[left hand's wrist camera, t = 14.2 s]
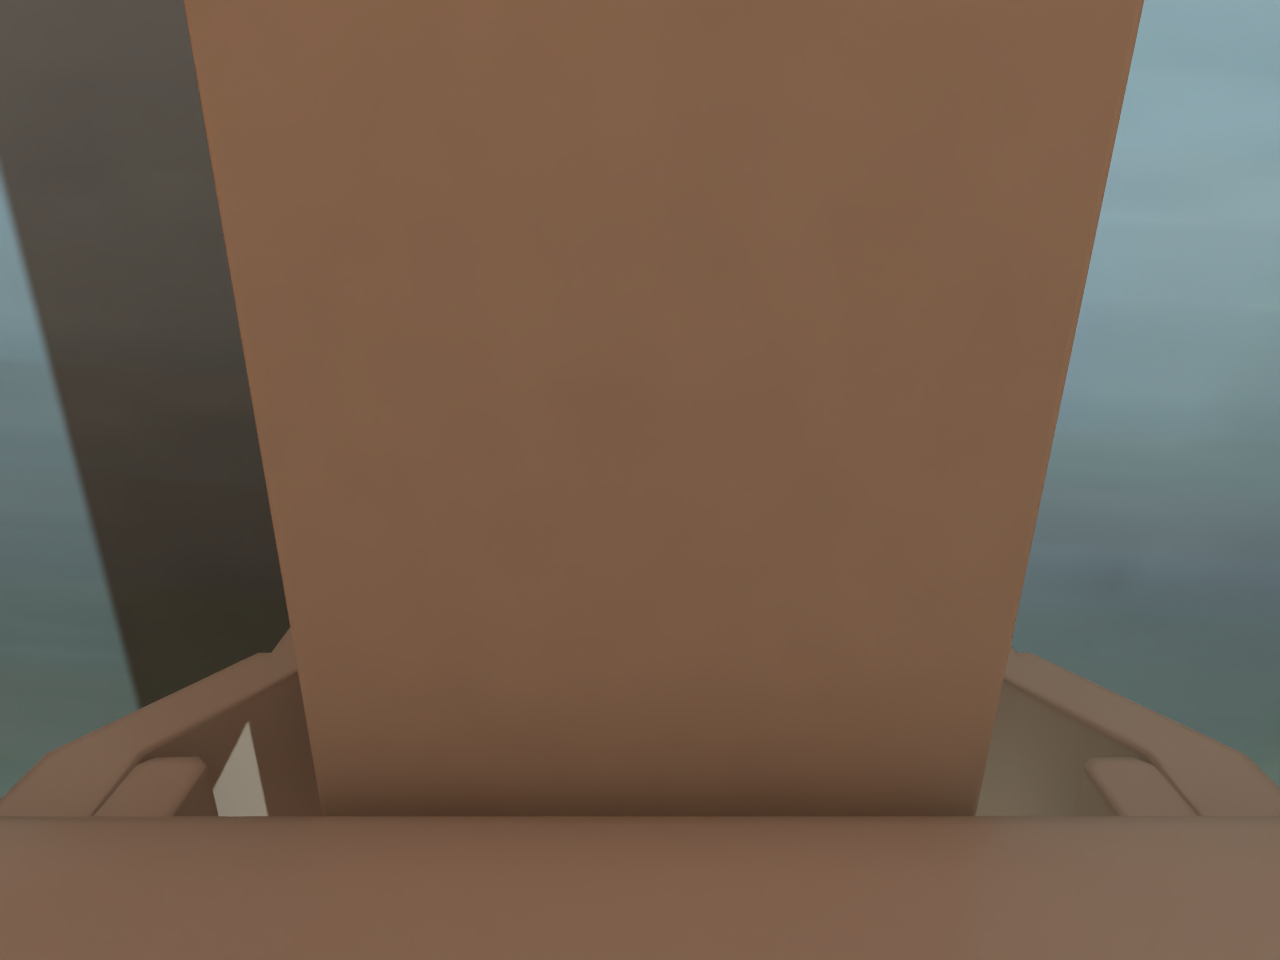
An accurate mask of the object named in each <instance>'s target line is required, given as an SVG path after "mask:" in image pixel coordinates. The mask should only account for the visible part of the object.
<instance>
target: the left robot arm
mask: <svg viewBox="0 0 1280 960" xmlns="http://www.w3.org/2000/svg"><path fill="white" fill-rule="evenodd" d="M0 960H1280V788H1279V787H1278V786H1277V785H1276V784H1275V783H1274V782H1273V781H1272V780H1271V779H1270V778H1269V777H1268V776H1267V775H1266V774H1265V773H1264V772H1263V771H1262V770H1261V769H1260V768H1259V767H1258V766H1257V765H1256V764H1255V763H1254V762H1253V761H1252V760H1251V759H1250V758H1249V757H1248V756H1247V755H1245V754H1243V753H1241V752H1239V751H1237V750H1235V749H1233V748H1231V747H1228V746H1226V745H1224V744H1222V743H1220V742H1218V741H1216V740H1214V739H1211V738H1209V737H1207V736H1205V735H1203V734H1201V733H1199V732H1197V731H1195V730H1192V729H1190V728H1188V727H1186V726H1184V725H1182V724H1180V723H1178V722H1176V721H1173V720H1171V719H1169V718H1167V717H1165V716H1163V715H1161V714H1159V713H1157V712H1154V711H1152V710H1150V709H1148V708H1146V707H1144V706H1142V705H1140V704H1137V703H1135V702H1133V701H1131V700H1129V699H1127V698H1125V697H1123V696H1121V695H1118V694H1116V693H1114V692H1112V691H1110V690H1108V689H1106V688H1104V687H1102V686H1099V685H1097V684H1095V683H1093V682H1091V681H1089V680H1087V679H1085V678H1082V677H1080V676H1078V675H1076V674H1074V673H1072V672H1070V671H1068V670H1066V669H1063V668H1061V667H1059V666H1057V665H1055V664H1053V663H1051V662H1049V661H1047V660H1044V659H1042V658H1040V657H1038V656H1036V655H1034V654H1032V653H1017V652H1016V651H1015V649H1014V648H1013V647H1012V645H1011V646H1010V650H1009V655H1008V660H1007V665H1006V670H1005V675H1004V679H1003V684H1002V689H1001V694H1000V699H999V704H998V708H997V713H996V718H995V723H994V728H993V733H992V737H991V742H990V747H989V752H988V757H987V762H986V766H985V771H984V776H983V781H982V786H981V791H980V795H979V800H978V805H977V810H976V815H975V816H322V810H321V804H320V798H319V792H318V786H317V780H316V775H315V769H314V763H313V757H312V751H311V745H310V739H309V733H308V728H307V722H306V716H305V710H304V704H303V698H302V692H301V686H300V681H299V675H298V669H297V663H296V657H295V651H294V645H293V639H292V634H291V628H289V629H288V631H287V632H286V633H285V635H284V636H283V637H282V639H281V640H280V641H279V643H278V644H277V645H276V647H275V648H274V649H273V651H272V652H271V653H257V654H254V655H252V656H250V657H248V658H246V659H244V660H242V661H240V662H238V663H236V664H233V665H231V666H229V667H227V668H225V669H223V670H221V671H219V672H217V673H215V674H212V675H210V676H208V677H206V678H204V679H202V680H200V681H198V682H196V683H193V684H191V685H189V686H187V687H185V688H183V689H181V690H179V691H177V692H175V693H172V694H170V695H168V696H166V697H164V698H162V699H160V700H158V701H156V702H154V703H151V704H149V705H147V706H145V707H143V708H141V709H139V710H137V711H135V712H133V713H130V714H128V715H126V716H124V717H122V718H120V719H118V720H116V721H114V722H111V723H109V724H107V725H105V726H103V727H101V728H99V729H97V730H95V731H93V732H90V733H88V734H86V735H84V736H82V737H80V738H78V739H76V740H74V741H72V742H69V743H67V744H65V745H63V746H61V747H59V748H57V749H55V750H53V751H51V752H48V753H46V754H45V755H44V756H43V757H42V758H41V759H40V760H39V761H38V762H37V763H36V764H35V765H34V766H33V767H32V768H31V769H30V770H29V771H28V772H27V773H26V774H25V775H24V776H23V777H22V778H21V779H20V780H19V781H18V782H17V783H16V784H15V785H14V786H13V787H12V788H11V789H10V790H9V791H8V792H7V793H6V794H5V795H4V796H3V797H2V798H1V799H0Z"/></svg>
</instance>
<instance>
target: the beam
mask: <svg viewBox="0 0 1280 960" xmlns="http://www.w3.org/2000/svg"><path fill="white" fill-rule="evenodd" d="M1143 3H1144V0H184V5H185V11H186V17H187V23H188V29H189V34H190V40H191V46H192V52H193V58H194V64H195V70H196V76H197V81H198V87H199V93H200V99H201V105H202V111H203V117H204V123H205V128H206V134H207V140H208V146H209V152H210V158H211V164H212V170H213V175H214V181H215V187H216V193H217V199H218V205H219V211H220V217H221V222H222V228H223V234H224V240H225V246H226V252H227V258H228V264H229V269H230V275H231V281H232V287H233V293H234V299H235V305H236V311H237V316H238V322H239V328H240V334H241V340H242V346H243V352H244V358H245V363H246V369H247V375H248V381H249V387H250V393H251V399H252V405H253V410H254V416H255V422H256V428H257V434H258V440H259V446H260V452H261V457H262V463H263V469H264V475H265V481H266V487H267V493H268V499H269V504H270V510H271V516H272V522H273V528H274V534H275V540H276V546H277V551H278V557H279V563H280V569H281V575H282V581H283V587H284V592H285V598H286V604H287V610H288V616H289V622H290V628H291V634H292V639H293V645H294V651H295V657H296V663H297V669H298V675H299V681H300V686H301V692H302V698H303V704H304V710H305V716H306V722H307V728H308V733H309V739H310V745H311V751H312V757H313V763H314V769H315V775H316V780H317V786H318V792H319V798H320V804H321V810H322V816H975V815H976V810H977V805H978V800H979V795H980V791H981V786H982V781H983V776H984V771H985V766H986V762H987V757H988V752H989V747H990V742H991V737H992V733H993V728H994V723H995V718H996V713H997V708H998V704H999V699H1000V694H1001V689H1002V684H1003V679H1004V675H1005V670H1006V665H1007V660H1008V655H1009V650H1010V646H1011V641H1012V636H1013V631H1014V626H1015V621H1016V617H1017V612H1018V607H1019V602H1020V597H1021V592H1022V588H1023V583H1024V578H1025V573H1026V568H1027V563H1028V559H1029V554H1030V549H1031V544H1032V539H1033V534H1034V530H1035V525H1036V520H1037V515H1038V510H1039V505H1040V501H1041V496H1042V491H1043V486H1044V481H1045V476H1046V472H1047V467H1048V462H1049V457H1050V452H1051V447H1052V443H1053V438H1054V433H1055V428H1056V423H1057V418H1058V414H1059V409H1060V404H1061V399H1062V394H1063V389H1064V385H1065V380H1066V375H1067V370H1068V365H1069V360H1070V356H1071V351H1072V346H1073V341H1074V336H1075V331H1076V327H1077V322H1078V317H1079V312H1080V307H1081V302H1082V298H1083V293H1084V288H1085V283H1086V278H1087V273H1088V269H1089V264H1090V259H1091V254H1092V249H1093V244H1094V240H1095V235H1096V230H1097V225H1098V220H1099V215H1100V210H1101V206H1102V201H1103V196H1104V191H1105V186H1106V181H1107V177H1108V172H1109V167H1110V162H1111V157H1112V152H1113V148H1114V143H1115V138H1116V133H1117V128H1118V123H1119V119H1120V114H1121V109H1122V104H1123V99H1124V94H1125V90H1126V85H1127V80H1128V75H1129V70H1130V65H1131V61H1132V56H1133V51H1134V46H1135V41H1136V36H1137V32H1138V27H1139V22H1140V17H1141V12H1142V7H1143Z"/></svg>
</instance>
